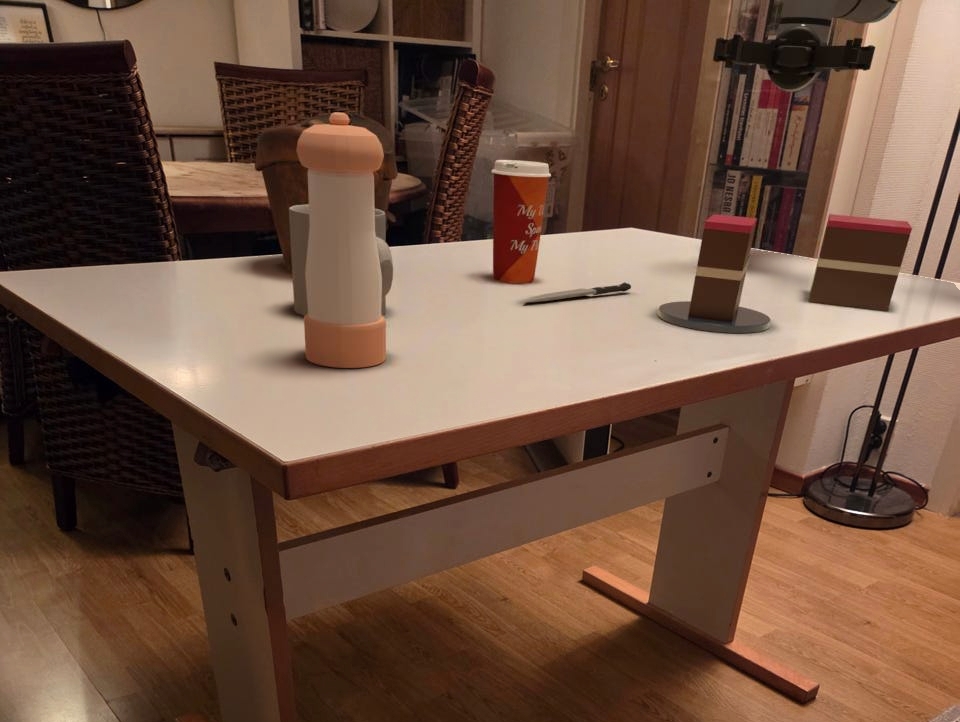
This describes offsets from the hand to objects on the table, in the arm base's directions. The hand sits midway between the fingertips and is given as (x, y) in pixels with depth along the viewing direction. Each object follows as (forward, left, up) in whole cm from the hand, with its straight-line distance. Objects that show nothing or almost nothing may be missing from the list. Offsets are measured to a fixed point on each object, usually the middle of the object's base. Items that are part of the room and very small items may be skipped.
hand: (789, 50), depth 107 cm
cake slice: (+1, +25, -27) cm, 37 cm away
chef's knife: (+19, +22, -28) cm, 41 cm away
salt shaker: (+30, +63, -28) cm, 76 cm away
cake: (-14, +1, -28) cm, 31 cm away
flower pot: (+52, +24, -28) cm, 64 cm away
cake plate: (+1, +25, -28) cm, 38 cm away
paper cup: (+29, +15, -28) cm, 43 cm away
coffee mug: (+38, +47, -28) cm, 67 cm away
